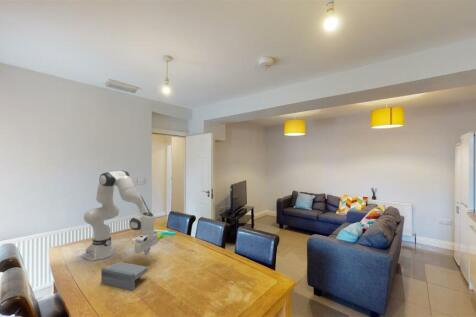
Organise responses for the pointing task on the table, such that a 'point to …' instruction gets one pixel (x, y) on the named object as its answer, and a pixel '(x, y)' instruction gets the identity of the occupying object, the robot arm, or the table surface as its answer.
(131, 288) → the grey block
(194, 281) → the table surface
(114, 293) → the table surface
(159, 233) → the puzzle game
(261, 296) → the table surface
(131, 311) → the table surface
